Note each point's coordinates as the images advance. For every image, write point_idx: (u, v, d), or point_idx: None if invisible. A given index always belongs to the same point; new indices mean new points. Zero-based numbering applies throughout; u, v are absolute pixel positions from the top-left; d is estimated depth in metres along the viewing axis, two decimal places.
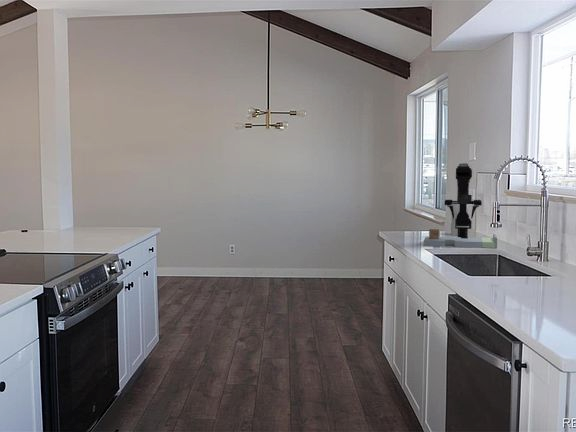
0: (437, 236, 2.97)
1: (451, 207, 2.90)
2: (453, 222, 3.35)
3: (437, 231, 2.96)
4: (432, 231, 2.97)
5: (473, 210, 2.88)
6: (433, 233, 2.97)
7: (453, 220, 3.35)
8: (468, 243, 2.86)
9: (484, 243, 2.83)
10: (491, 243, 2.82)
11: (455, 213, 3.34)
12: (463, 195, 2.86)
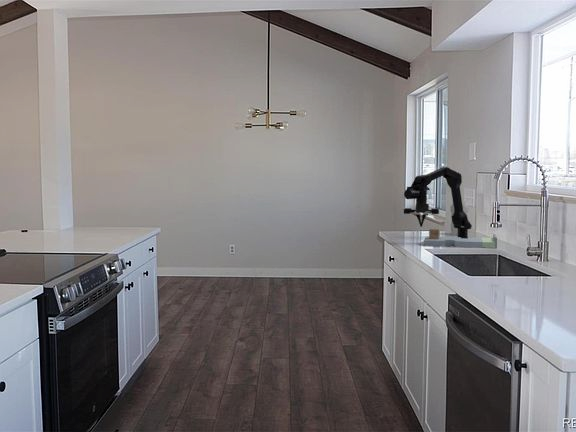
0: (437, 236, 2.97)
1: (418, 216, 2.99)
2: None
3: (437, 231, 2.96)
4: (432, 231, 2.97)
5: (422, 218, 2.99)
6: (433, 233, 2.97)
7: None
8: (468, 243, 2.86)
9: (484, 243, 2.83)
10: (491, 243, 2.82)
11: None
12: (421, 204, 2.96)
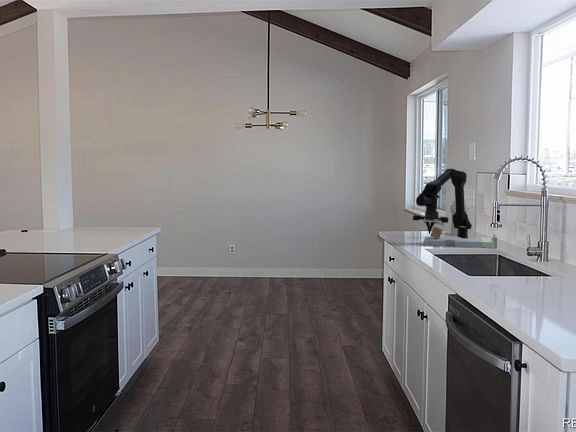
0: (438, 236, 2.96)
1: (427, 223, 2.98)
2: None
3: (440, 231, 2.96)
4: (436, 230, 2.96)
5: (431, 226, 2.98)
6: (436, 232, 2.97)
7: None
8: (468, 243, 2.86)
9: (484, 243, 2.83)
10: (491, 243, 2.82)
11: None
12: (431, 211, 2.95)
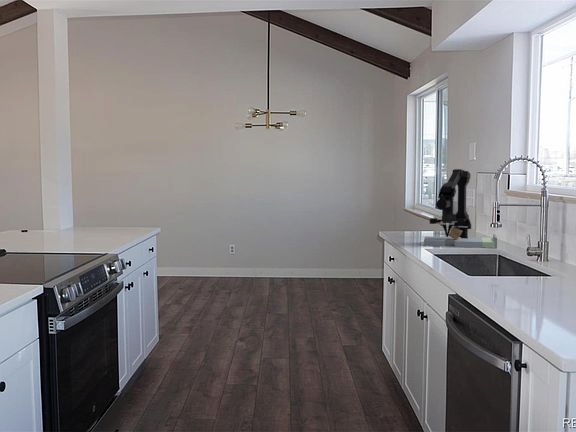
0: (457, 237, 2.92)
1: (444, 226, 2.95)
2: None
3: (459, 232, 2.92)
4: (455, 230, 2.93)
5: (449, 229, 2.95)
6: (454, 232, 2.93)
7: None
8: (468, 243, 2.86)
9: (484, 243, 2.83)
10: (491, 243, 2.82)
11: (455, 213, 3.34)
12: (448, 214, 2.92)
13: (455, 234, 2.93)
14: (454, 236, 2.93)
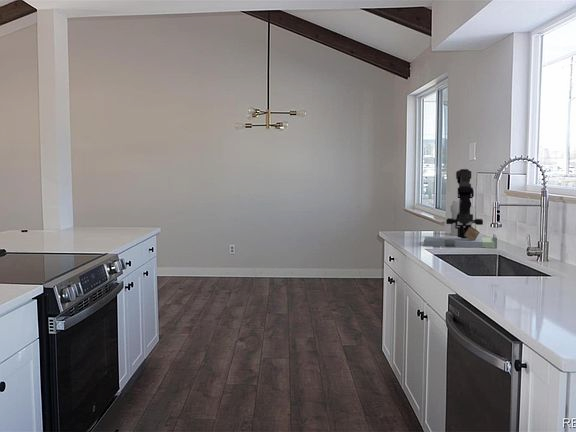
0: (472, 237, 2.88)
1: (461, 226, 2.92)
2: None
3: (474, 233, 2.87)
4: (470, 230, 2.89)
5: (466, 229, 2.93)
6: (470, 233, 2.89)
7: None
8: (468, 243, 2.86)
9: (484, 243, 2.83)
10: (491, 243, 2.82)
11: (455, 213, 3.34)
12: (465, 214, 2.90)
13: (470, 235, 2.89)
14: (469, 237, 2.89)
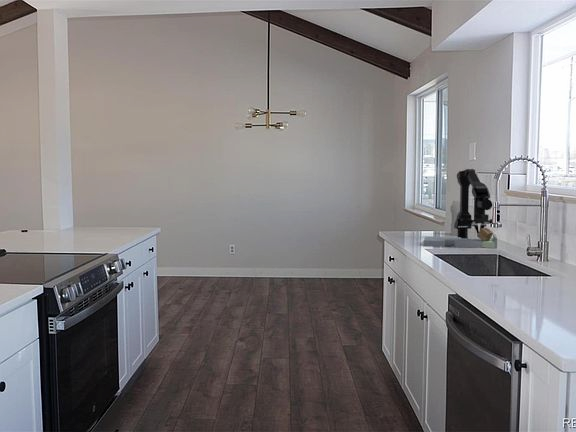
0: (484, 238, 2.85)
1: (476, 226, 2.90)
2: (453, 222, 3.35)
3: (486, 234, 2.84)
4: (482, 231, 2.86)
5: None
6: (482, 233, 2.86)
7: (453, 220, 3.35)
8: (468, 243, 2.86)
9: (484, 243, 2.83)
10: (491, 243, 2.82)
11: (455, 213, 3.34)
12: (480, 214, 2.87)
13: (482, 235, 2.86)
14: (481, 237, 2.86)
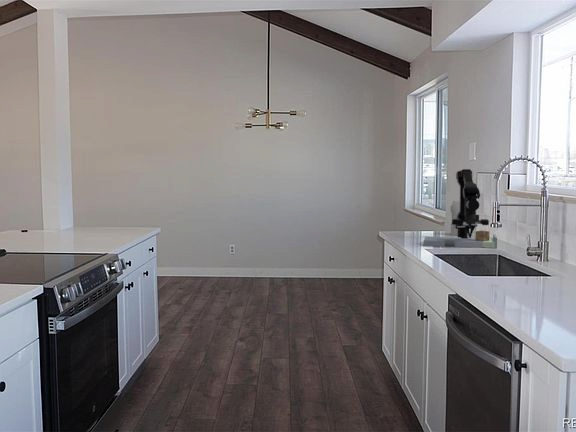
0: (482, 238, 2.86)
1: (467, 227, 2.92)
2: None
3: (482, 233, 2.86)
4: (478, 233, 2.88)
5: (472, 229, 2.92)
6: (479, 235, 2.87)
7: None
8: (468, 243, 2.86)
9: (484, 243, 2.83)
10: (491, 243, 2.82)
11: (455, 213, 3.34)
12: (471, 214, 2.89)
13: (480, 236, 2.87)
14: (480, 239, 2.87)
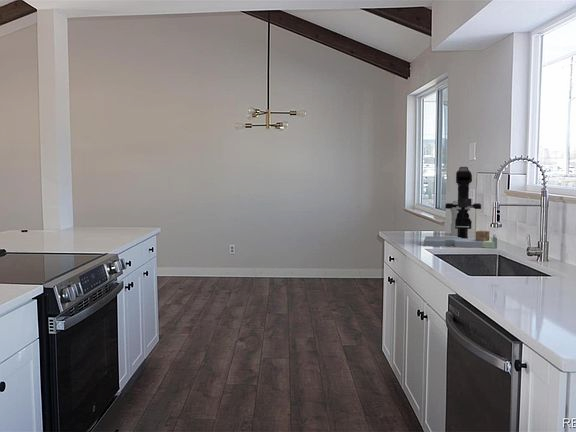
0: (482, 238, 2.86)
1: (460, 210, 2.99)
2: (453, 222, 3.35)
3: (482, 233, 2.86)
4: (478, 233, 2.88)
5: (464, 213, 2.99)
6: (479, 235, 2.87)
7: (453, 220, 3.35)
8: (468, 243, 2.86)
9: (484, 243, 2.83)
10: (491, 243, 2.82)
11: (455, 213, 3.34)
12: (464, 198, 2.96)
13: (480, 236, 2.87)
14: (480, 239, 2.87)
